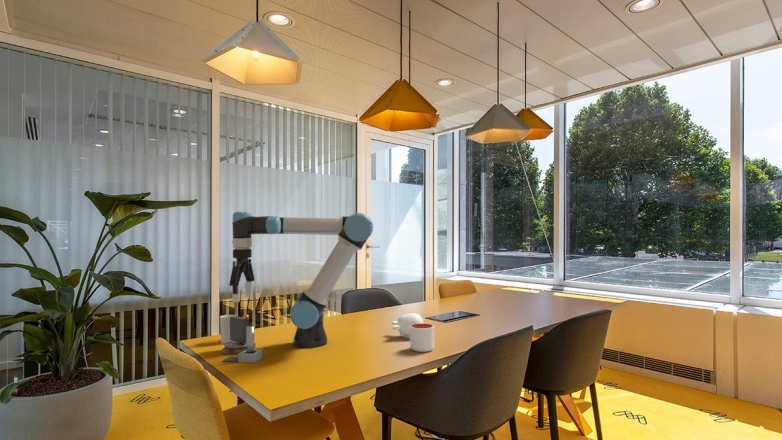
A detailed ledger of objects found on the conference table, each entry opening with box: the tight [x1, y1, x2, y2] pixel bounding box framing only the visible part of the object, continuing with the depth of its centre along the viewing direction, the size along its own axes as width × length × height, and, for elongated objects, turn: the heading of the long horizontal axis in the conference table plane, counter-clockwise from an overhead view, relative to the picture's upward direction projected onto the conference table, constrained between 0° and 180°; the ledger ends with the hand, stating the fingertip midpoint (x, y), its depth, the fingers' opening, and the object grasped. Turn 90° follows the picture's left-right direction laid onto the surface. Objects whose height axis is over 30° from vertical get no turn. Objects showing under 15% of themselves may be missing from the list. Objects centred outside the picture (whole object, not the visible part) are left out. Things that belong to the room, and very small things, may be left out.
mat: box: [221, 355, 238, 363], centre depth 173 cm, size 6×6×1 cm
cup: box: [409, 322, 435, 353], centre depth 184 cm, size 10×10×10 cm
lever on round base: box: [223, 314, 250, 349], centre depth 187 cm, size 12×12×13 cm
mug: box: [219, 314, 237, 345], centre depth 202 cm, size 10×7×12 cm, turn 25°
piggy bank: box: [391, 312, 424, 339], centre depth 205 cm, size 12×12×15 cm
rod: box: [246, 325, 255, 354], centre depth 173 cm, size 3×3×13 cm
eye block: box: [237, 349, 264, 363], centre depth 173 cm, size 7×7×3 cm
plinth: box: [221, 342, 257, 355], centre depth 186 cm, size 10×10×2 cm
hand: (242, 299), depth 182 cm, fingers open, 13 cm apart
